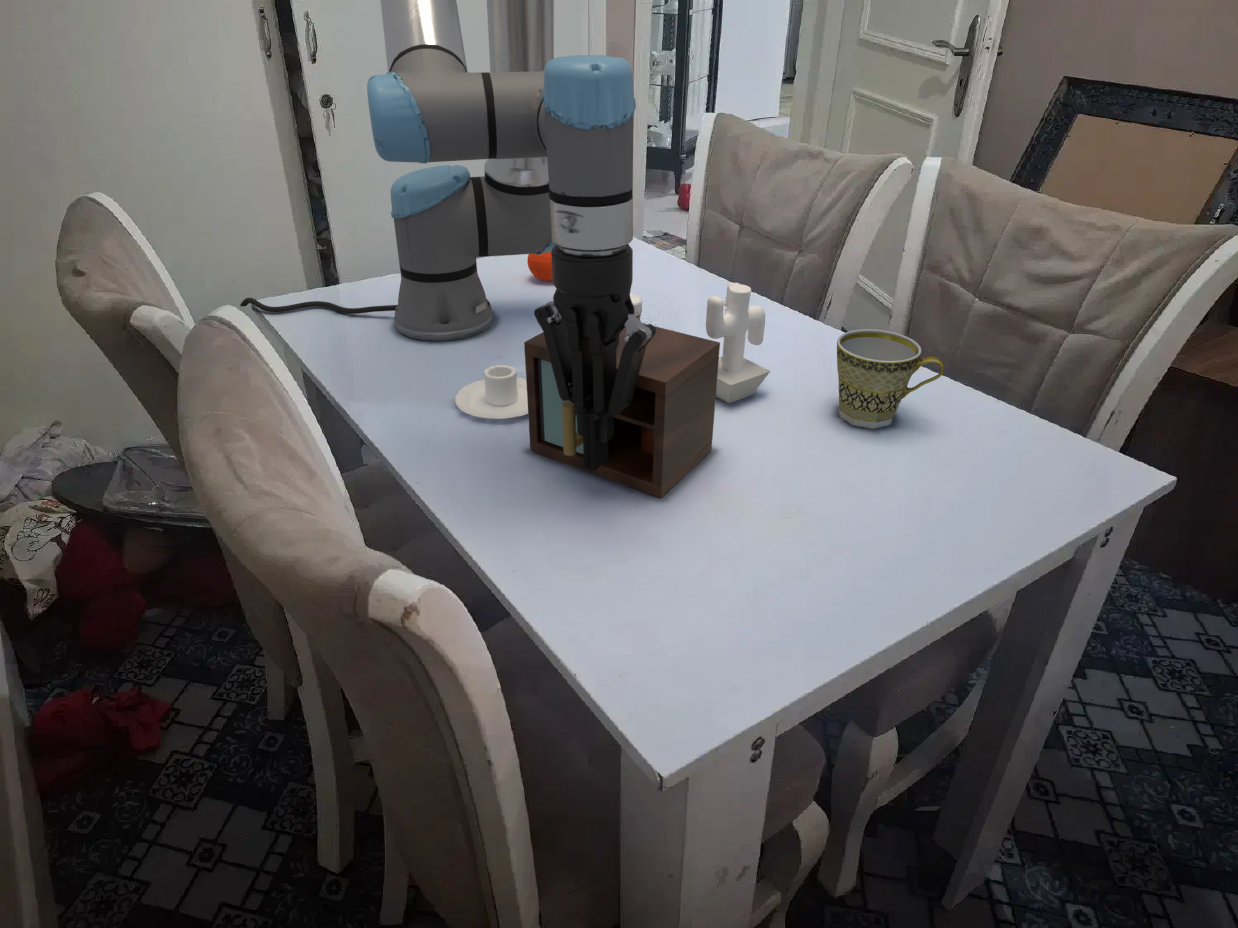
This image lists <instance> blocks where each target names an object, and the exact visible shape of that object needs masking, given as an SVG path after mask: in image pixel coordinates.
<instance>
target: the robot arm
mask: <svg viewBox="0 0 1238 928" xmlns="http://www.w3.org/2000/svg"><path fill="white" fill-rule="evenodd" d="M380 9H381V17H382V18H381V19H382V29H383V39H384V49H385V57H386V65H387V66H386V67H387V72H386V73H382V74H381V73H380V74H374V75H371V76H370V77H369V78H368V81H367V83H366V88H367V89H366V92H367V104H368V111H369V119H370V125H371V132H372V138H373V144H374V147H375V151H376V153H377V155H378V156H379V157H380V158H381V159H382V160H384V161H386V162H390V163H391V162H393V163H416V164H417V163H419V164H428V163H443V162H459V161H461V162H462V161H478V160H479V161H480V160H485V162H484V165H483V166H484V168H483V169H484V171H483V172H484V176H471V173H470V171H469V169H468V168H467V167H466V166H464V165H459V164H456V165H450V164H446V165H445V164H444V165H436V166H430V167H425V168H421V169H417V170H413V171H410V172H408V173H406V174H403V175H401V176H400V177H398V178H397V179H396V180H394V182H393V183H392V185H391V188H390V203H391V210H390V215H391V216H390V217H391V218H393V225H394V232H395V233H394V234H395V240H396V248H397V249H396V250H397V256H398V257H397V258H398V263H399V271H400V272H399V273H400V282H399V283H400V284H399V290H398V298H397V304H387V305H371V306H363V307H343V306H340V305H337V304H335V303H332V302H329V301H323V300H322V301H321V300H313V301H304V302H299V303H294V304H289V305H281V306H270V305H266V304H264V303H262V302H260V301H259V300H257V299H255V298H253V297H245V298H244V299H243V300H242V301H241V303H240V304H239V306H240V307H247V306H248V305H249V304H251V305H253V306H254V307H256V308H258V309H259V310H262V311H264V312H267V313H285V312H290V311H296V310H302V309H307V308H325V309H326V308H327V309H330V310H333V311H335V312H338V313H341V314H345V315H346V314H348V315H358V314H359V315H360V314H367V313H377V312H379V313H380V312H394V321H395V328H396V329H397V331H398V332H399V333H400V334H401V335H403V336H405V337H408V338H411V339H416V340H421V341H431V342H439V341H440V342H443V341H444V342H445V341H455V340H460V339H465V338H469V337H472V336H475V335H477V334H480V333H482V332H484V331H485V330H487V329H488V328H489V327H491V326H492V324H493V322H494V315H493V309H492V304H491V302H490V300H488V299H487V295H486V291H485V289H484V286H483V283H482V281H481V278H480V277H479V272H478V263H477V259H478V258H485V257H486V258H489V257H501V256H502V257H503V256H519V255H529V254H535V255H540V254H543V253H547V252H551V256H552V278H553V280H552V284H553V286H554V287H555V291H554V293H553V297H552V300H551V301H549V302H547V303H545V304H543V305H542V306H539V307H537V308H535V309H534V310H533V315H534V317H535V319H536V321H537V323H538V325H539V327H540V328H541V330H542V332H543V333H544V337H545V341H546V345H547V349H548V353H549V357H550V360H551V364H552V368H553V372H554V376H555V380H556V384H557V388H558V392H559V396H560V398H561V399H562V400H563V401H567V400H569V401H570V402H572V403H573V404H574V407H575V409H576V410H577V431H578V434H579V435H581V436H583V454H584V468H587V469H590V470H593V471H595V470H596V469H598V468H599V467H600V466H601V465H603V464H604V463H605V462H606V461H608V441H609V440H610V439H611V438H613V435H614V416H616V415H618V414H619V413H621V412H622V411H623V410H625V409H626V408H627V407H629V406H630V405H631V403H632V399H633V395H634V391H635V387H636V384H637V380H638V376H639V372H640V368H641V365H642V361H643V357H644V353H645V349H646V346H647V344H648V343H649V342H650V341H651V339H652V338H653V337H654V335H655V333H656V329H655V327H654V326H655V325H653V324H651V323H648V324H647V323H646V324H647V325H646V326H645V325H644V324H645V323H644V322H642V321H641V319H640V320H639V319H638V318H637V317H636V316H635V315H634V305H633V303H632V301H631V298H630V293H631V290H632V285H633V281H634V280H633V279H634V278H633V276H634V275H633V273H634V272H633V271H634V270H633V267H634V264H633V263H634V261H633V260H634V259H633V258H634V257H633V255H634V252H633V248H632V247H631V245H630V243H632V242H633V240H634V193H633V192H634V191H633V188H634V130H635V129H634V128H635V127H634V125H635V124H634V122H635V117H634V116H635V112H636V108H637V106H636V105H637V102H636V101H637V100H636V98H635V92H634V76H633V74H634V73H633V68H632V66H631V64H630V63H629V61H627V59H625V58H622V57H620V56H610V55H600V54H579V55H577V54H576V55H564V56H563V55H562V56H557V57H555V0H486V11H487V12H486V15H487V33H488V34H487V35H488V36H487V37H488V53H489V54H488V56H489V71H487V72H468V65H467V60H466V59H467V58H466V54H465V48H464V47H465V46H464V41H463V34H462V29H461V21H460V15H459V9H458V3H457V0H380ZM643 323H644V324H643ZM625 327H626V333H625V337H624V341H625V342H627V343H626V344H625V346H624V348H623V351H622V354H621V358H620V362H619V366H618V371H617V375H616V349H617V346H618V344H619V334H620V333H621V332H622V330H623V329H624V328H625ZM568 383H569V384H568Z"/></svg>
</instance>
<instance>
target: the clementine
mask: <svg viewBox="0 0 1238 928" xmlns="http://www.w3.org/2000/svg"><path fill="white" fill-rule="evenodd" d="M526 263H527V267H528V270H529V272H530V273H531V274H532V275H533V277H535V278H536V279H538V280H540V281H543V282H551V281H553V278H552V256H551V252H547V253H543V254H540V255H535V254H527V261H526Z"/></svg>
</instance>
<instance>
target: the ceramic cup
mask: <svg viewBox="0 0 1238 928" xmlns="http://www.w3.org/2000/svg"><path fill="white" fill-rule="evenodd" d="M922 352H923V351H922V347H921V345H920V344H919V343H918V342H917V341H915V340H914V339H912V338H911V337H908V336H906V335H903V334H902V333H897V332H894V331H890V330H884V329H875V328H874V329H873V328H865V329H864V328H862V329H861V328H860V329H854V330H849V331H847V332H844V333H841V334H840V335H839V337H837V340H836V367H837V368H836V369H837V376H838V417H839V418H841V419H842V420H844V422H846V423H848V424H849V425H851V426H854V427H858V428H865V429H871V430H875V429H878V428H883V427H887V426H890V425H891V424H892V423H893V420H894V417H895V415H896V412H897V409H898V408H899V406H900V404H901V402H902V400H903V399H905V398H906V397H907V396H908V395H909V394H911V393H913V392H914V391H916V390H918V389H920V388H921V387H923V386H925V385H926V384H930V383H932V382H935V381H936V380H938V379H940V378H941V377H942V376H943V374H944V373H945V364H944V362H943V360H942V359H941V358H939V357H937V356H933V355H927V356H923V357H921V355H922ZM931 363H933V364H938V365H939V366H940V371H939V373H938V374H936V375H934V376H933V377H930V378H927V379H925V380H923V381H921V382H919V383H918V384H916V385H915V386H912V387H908V384H909V382H910V379H911V378H912V376H913V375H914V374H915V373H916V372H917V371H918V370H919V369H920V368H921V367H922V366H924V365H926V364H931Z"/></svg>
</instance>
